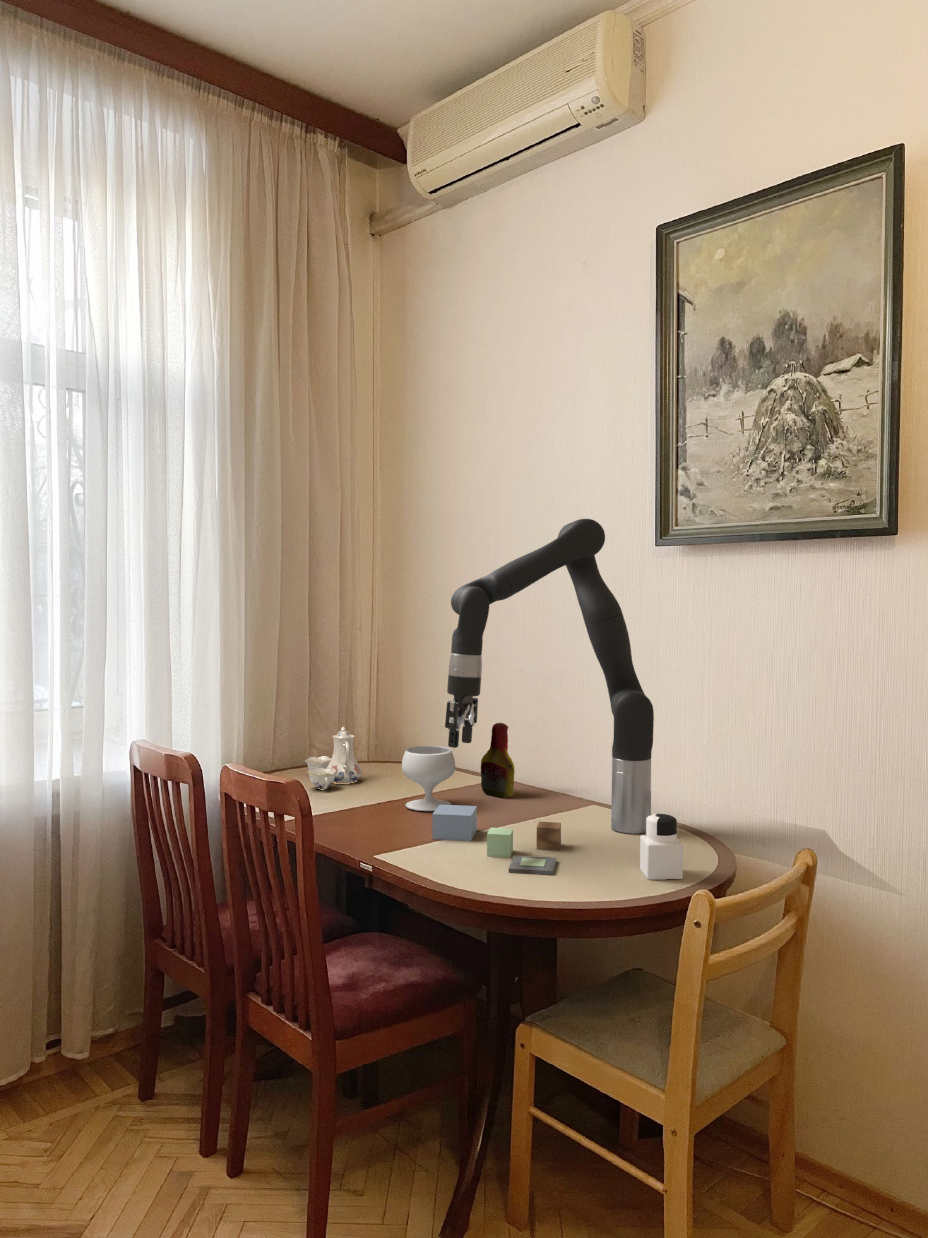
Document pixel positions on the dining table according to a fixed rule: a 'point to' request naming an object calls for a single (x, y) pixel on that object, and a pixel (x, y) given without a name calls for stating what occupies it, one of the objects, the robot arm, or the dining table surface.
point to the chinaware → (335, 763)
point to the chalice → (428, 773)
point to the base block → (454, 822)
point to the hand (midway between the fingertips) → (459, 745)
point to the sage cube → (500, 842)
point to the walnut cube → (549, 836)
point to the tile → (532, 865)
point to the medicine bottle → (661, 849)
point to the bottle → (498, 765)
